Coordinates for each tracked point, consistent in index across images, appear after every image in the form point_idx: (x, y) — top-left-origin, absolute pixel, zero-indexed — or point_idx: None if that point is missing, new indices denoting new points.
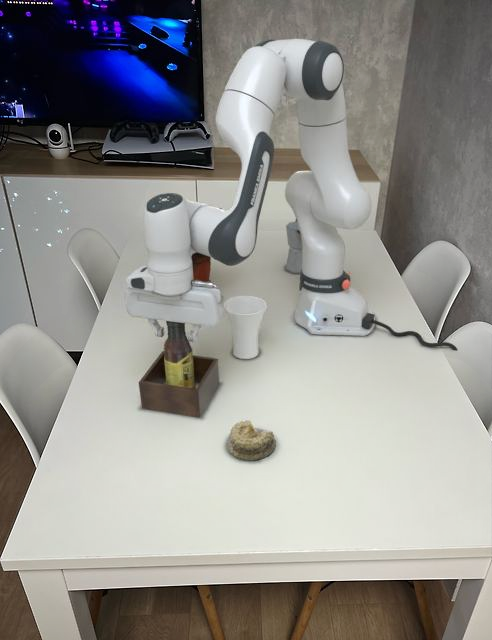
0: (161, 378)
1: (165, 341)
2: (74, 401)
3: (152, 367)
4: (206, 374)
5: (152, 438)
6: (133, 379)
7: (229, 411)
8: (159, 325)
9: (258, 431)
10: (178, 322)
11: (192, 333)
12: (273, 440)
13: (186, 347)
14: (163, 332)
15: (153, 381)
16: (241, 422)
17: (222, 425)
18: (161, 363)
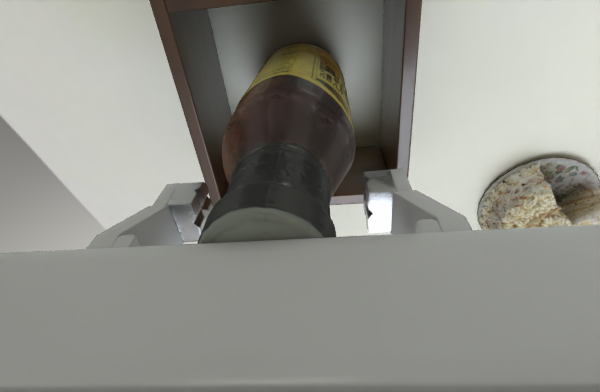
0: (208, 51)
1: (229, 182)
2: (75, 186)
3: (198, 130)
4: (406, 109)
5: None
6: (115, 47)
7: (463, 103)
8: (163, 212)
9: (555, 165)
10: None
11: (388, 219)
12: (598, 194)
13: (342, 179)
14: (203, 196)
15: (217, 120)
16: (529, 208)
17: (453, 162)
18: (189, 49)
